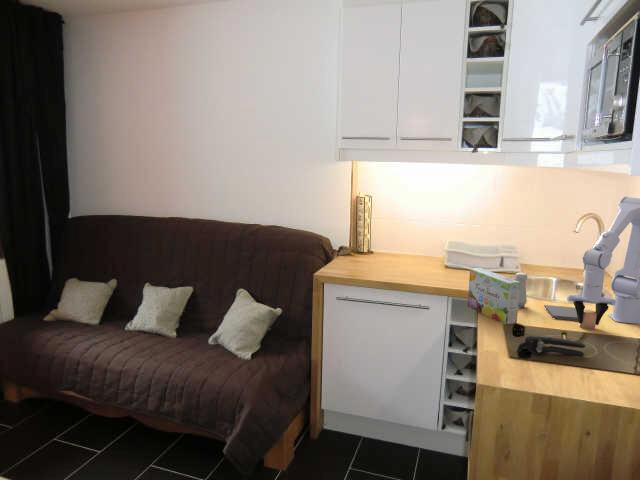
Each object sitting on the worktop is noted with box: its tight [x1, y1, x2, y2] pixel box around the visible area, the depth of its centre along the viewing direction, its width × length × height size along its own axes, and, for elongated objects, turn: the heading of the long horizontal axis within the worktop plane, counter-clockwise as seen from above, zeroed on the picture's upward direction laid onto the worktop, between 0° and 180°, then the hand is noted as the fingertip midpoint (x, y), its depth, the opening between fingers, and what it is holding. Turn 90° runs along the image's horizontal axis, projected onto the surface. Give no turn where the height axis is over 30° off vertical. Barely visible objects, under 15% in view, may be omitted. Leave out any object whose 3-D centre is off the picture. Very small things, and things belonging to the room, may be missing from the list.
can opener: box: [520, 335, 586, 357], centre depth 144 cm, size 18×7×6 cm, turn 85°
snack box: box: [467, 267, 520, 326], centre depth 178 cm, size 21×6×15 cm, turn 21°
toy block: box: [579, 309, 597, 331], centre depth 168 cm, size 5×5×6 cm
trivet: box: [543, 304, 578, 322], centre depth 182 cm, size 13×13×1 cm
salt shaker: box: [514, 272, 528, 309], centre depth 190 cm, size 6×6×13 cm
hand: (587, 323), depth 169 cm, fingers closed on toy block, 5 cm apart
